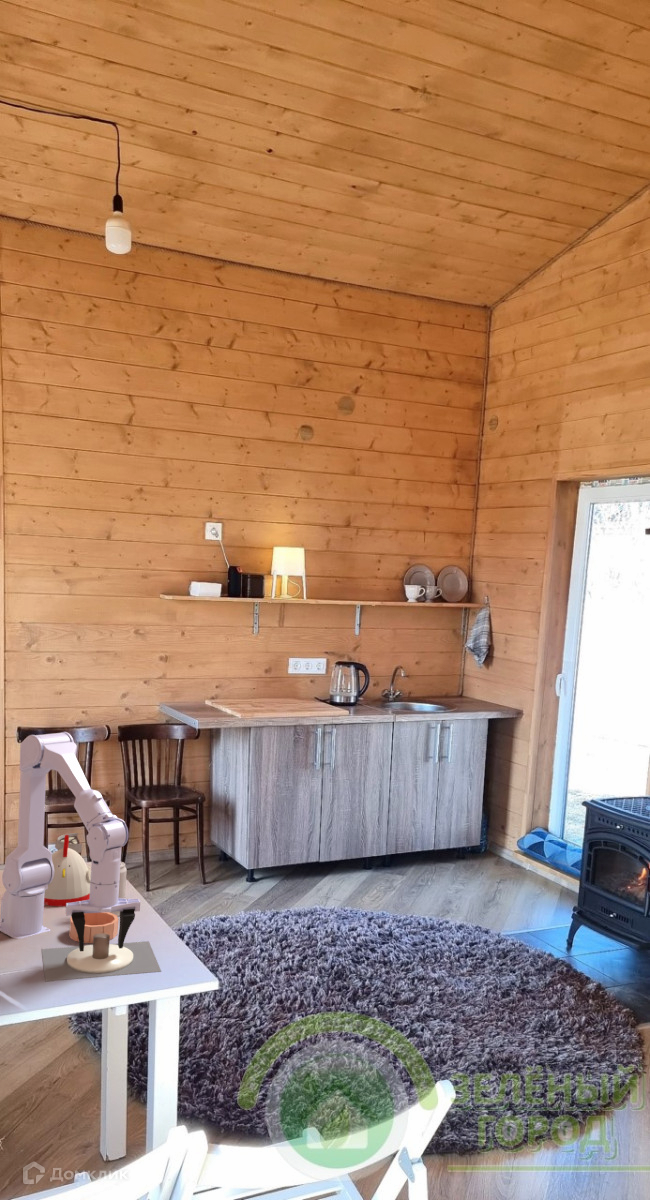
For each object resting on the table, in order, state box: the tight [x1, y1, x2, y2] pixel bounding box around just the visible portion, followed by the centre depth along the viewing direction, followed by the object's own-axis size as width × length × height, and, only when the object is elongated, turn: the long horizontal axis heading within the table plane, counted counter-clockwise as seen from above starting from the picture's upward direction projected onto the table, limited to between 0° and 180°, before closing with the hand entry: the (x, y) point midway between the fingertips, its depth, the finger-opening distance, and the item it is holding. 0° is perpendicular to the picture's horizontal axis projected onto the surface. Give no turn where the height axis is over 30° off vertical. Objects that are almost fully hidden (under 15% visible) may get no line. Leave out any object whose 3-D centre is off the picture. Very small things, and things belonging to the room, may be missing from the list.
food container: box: [54, 832, 83, 857], centre depth 233 cm, size 12×6×10 cm, turn 21°
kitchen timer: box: [44, 834, 91, 907], centre depth 218 cm, size 14×14×15 cm
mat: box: [41, 941, 162, 982], centre depth 180 cm, size 16×22×1 cm
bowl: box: [68, 912, 120, 944], centre depth 193 cm, size 10×10×4 cm
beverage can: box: [110, 861, 128, 918], centre depth 207 cm, size 6×6×12 cm
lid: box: [67, 933, 133, 973], centre depth 180 cm, size 13×13×5 cm
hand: (100, 948), depth 180 cm, fingers open, 7 cm apart
